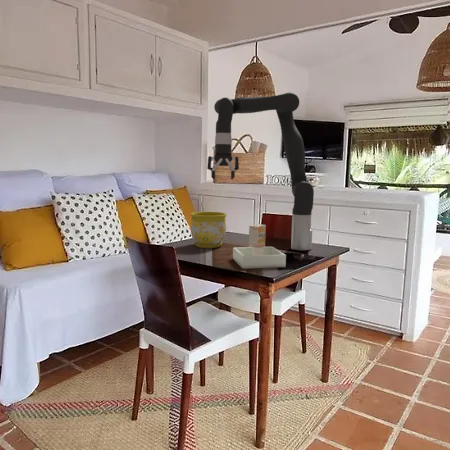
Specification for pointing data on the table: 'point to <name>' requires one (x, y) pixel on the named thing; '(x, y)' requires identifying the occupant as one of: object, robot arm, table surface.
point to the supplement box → (257, 234)
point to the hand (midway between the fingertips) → (222, 179)
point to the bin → (259, 258)
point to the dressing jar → (258, 249)
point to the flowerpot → (208, 228)
